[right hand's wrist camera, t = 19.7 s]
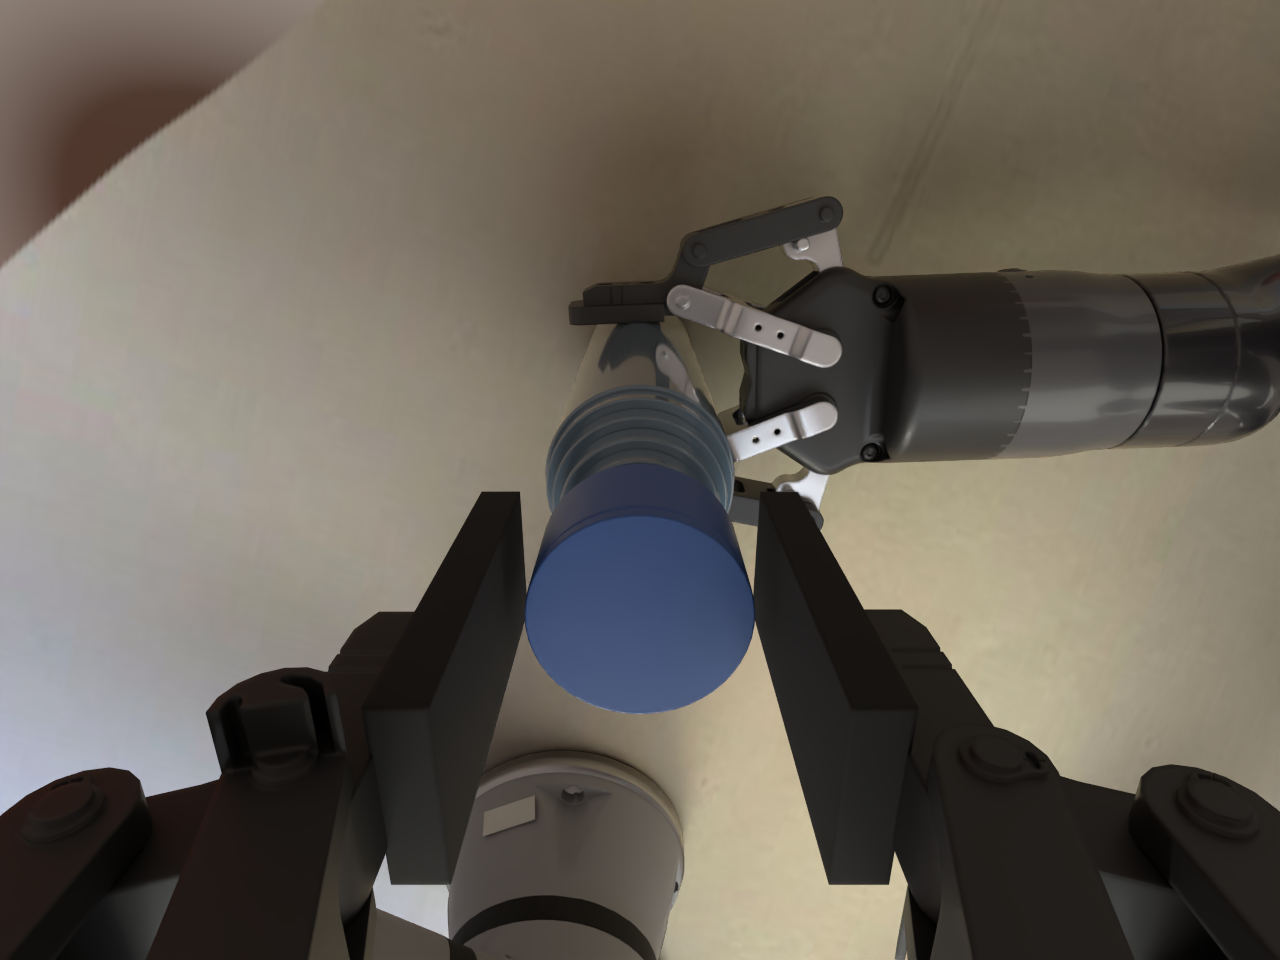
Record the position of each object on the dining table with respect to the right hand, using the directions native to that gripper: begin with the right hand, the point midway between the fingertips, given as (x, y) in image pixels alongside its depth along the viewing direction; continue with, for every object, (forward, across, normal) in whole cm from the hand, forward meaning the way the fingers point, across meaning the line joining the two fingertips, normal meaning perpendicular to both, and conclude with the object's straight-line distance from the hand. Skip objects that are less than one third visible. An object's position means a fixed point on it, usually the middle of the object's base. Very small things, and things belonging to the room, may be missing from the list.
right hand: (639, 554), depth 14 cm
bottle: (+22, 0, 0) cm, 22 cm away
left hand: (+16, -3, 0) cm, 16 cm away
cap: (-2, 0, 0) cm, 2 cm away
